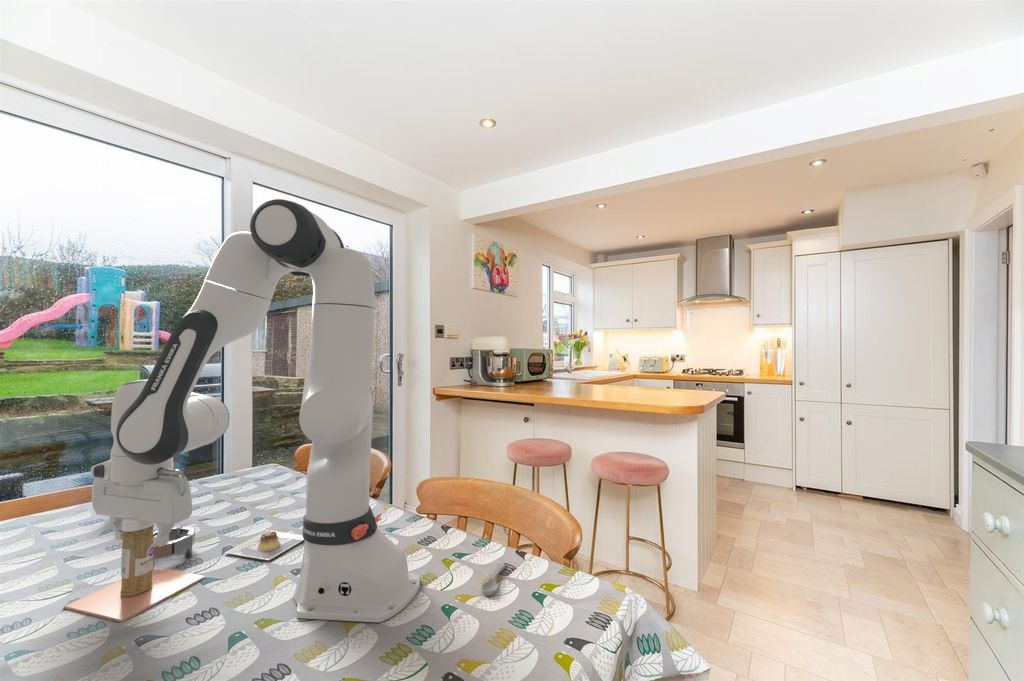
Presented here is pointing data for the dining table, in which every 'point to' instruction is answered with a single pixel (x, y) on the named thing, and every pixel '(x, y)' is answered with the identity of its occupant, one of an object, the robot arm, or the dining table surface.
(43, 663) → the dining table surface
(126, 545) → the sprinkles bottle
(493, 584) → the spoon
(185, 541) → the ring stand
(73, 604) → the copper sheet
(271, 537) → the dessert
